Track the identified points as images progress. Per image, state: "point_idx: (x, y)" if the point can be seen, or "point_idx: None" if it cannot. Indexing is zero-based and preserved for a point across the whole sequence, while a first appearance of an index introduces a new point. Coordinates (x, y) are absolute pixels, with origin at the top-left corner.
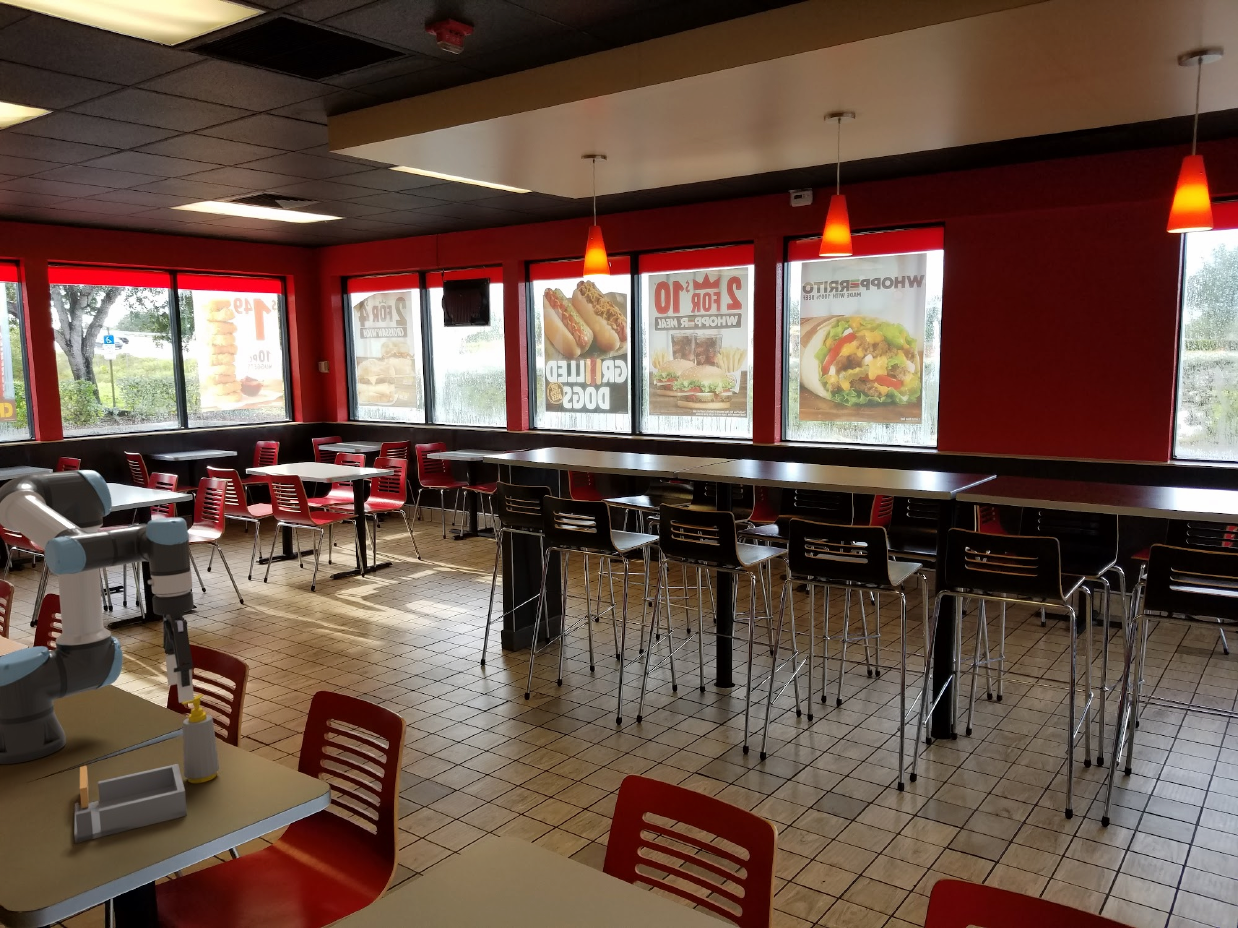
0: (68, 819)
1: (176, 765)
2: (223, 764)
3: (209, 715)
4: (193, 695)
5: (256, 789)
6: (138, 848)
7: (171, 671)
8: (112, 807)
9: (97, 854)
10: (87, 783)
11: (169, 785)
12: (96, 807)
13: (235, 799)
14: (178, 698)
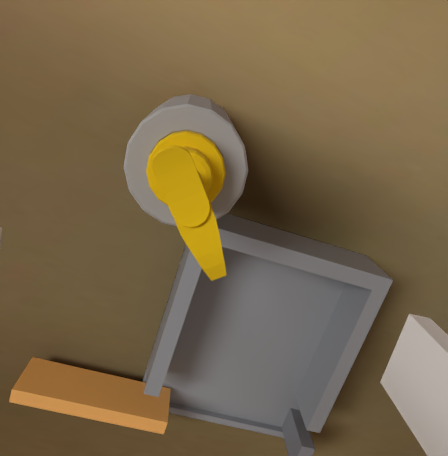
0: None
1: None
2: (149, 57)
3: (181, 110)
4: (444, 332)
5: (390, 81)
6: None
7: None
8: (325, 411)
9: (366, 413)
10: (92, 390)
11: None
12: (181, 375)
13: (393, 146)
14: (391, 396)
